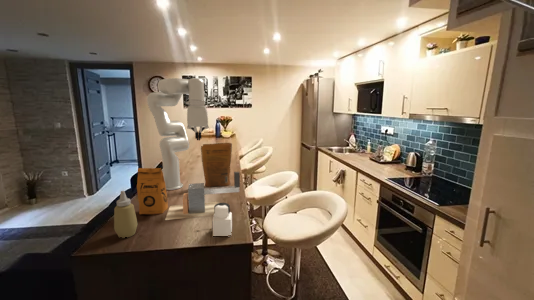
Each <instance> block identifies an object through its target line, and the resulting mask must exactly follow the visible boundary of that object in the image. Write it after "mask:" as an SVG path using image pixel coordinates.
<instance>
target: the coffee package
mask: <svg viewBox="0 0 534 300" xmlns="http://www.w3.org/2000/svg"><path fill="white" fill-rule="evenodd" d="M136 183H137V184H136V192H137V199H138V200H137V202H138V209H139V210H138V214H139V215H151V216H152V215H157V214H159V215H160V214H164V213H165V212H166V211H168V210H169V208H168V207H169V205H168V202H169V201H168V200H169V199H168V194H167V190H166V185H165V181H164V175H163V168H162V167H160V168H159V167H155V168H154V167H138V168H137V180H136Z"/></svg>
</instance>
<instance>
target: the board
mask: <svg viewBox="0 0 534 300" xmlns="http://www.w3.org/2000/svg"><path fill="white" fill-rule="evenodd" d="M218 203H220V202H219V201H213V202H211V201H210V202H209V201H208V202H205V212H204V213H194V214H189V210H188V214H183V204H177V205H176V204H175V205H170V206H168V207H169V208H168V209H167V213H166V215H165V216H166V217H165V219H164V220H165V221H169V220H179V219H181V220H182V219H190V218H200V217H211V216H214V206H215V205H216V204H218Z"/></svg>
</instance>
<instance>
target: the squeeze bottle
mask: <svg viewBox="0 0 534 300" xmlns="http://www.w3.org/2000/svg"><path fill="white" fill-rule="evenodd" d="M113 210H114V212H113V213H114V214H113V230H114V232H115V233H116V235H117V237H118V238H120V237H122V238H121V239H126V238H125V237H127V238H131V237H132V236H134V235H135V234H136V231H137V227H138V219H137V215H136V210H135V205H134V204H133V203H132V201H131V198H128V197H127V195H126V191H125V190H121V191H120V196H119V199H118V200H116V206H115V207H114V209H113Z"/></svg>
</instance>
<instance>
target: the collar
mask: <svg viewBox="0 0 534 300" xmlns="http://www.w3.org/2000/svg"><path fill="white" fill-rule="evenodd" d="M182 205H183V214H188V210H189V197H188V192H187V193H186V192H185V193H183V197H182Z"/></svg>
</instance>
